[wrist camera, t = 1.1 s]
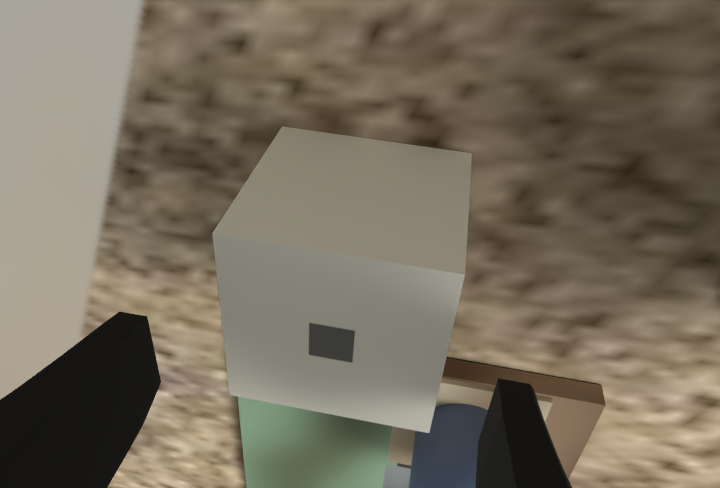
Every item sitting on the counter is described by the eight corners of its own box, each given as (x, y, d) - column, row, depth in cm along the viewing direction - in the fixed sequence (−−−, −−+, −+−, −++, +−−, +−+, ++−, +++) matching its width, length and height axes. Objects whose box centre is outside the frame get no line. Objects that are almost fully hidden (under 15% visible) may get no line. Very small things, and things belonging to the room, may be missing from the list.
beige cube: (472, 151, 15) (464, 274, 11) (442, 296, 18) (429, 433, 14) (282, 124, 16) (211, 233, 12) (284, 269, 19) (229, 395, 15)
